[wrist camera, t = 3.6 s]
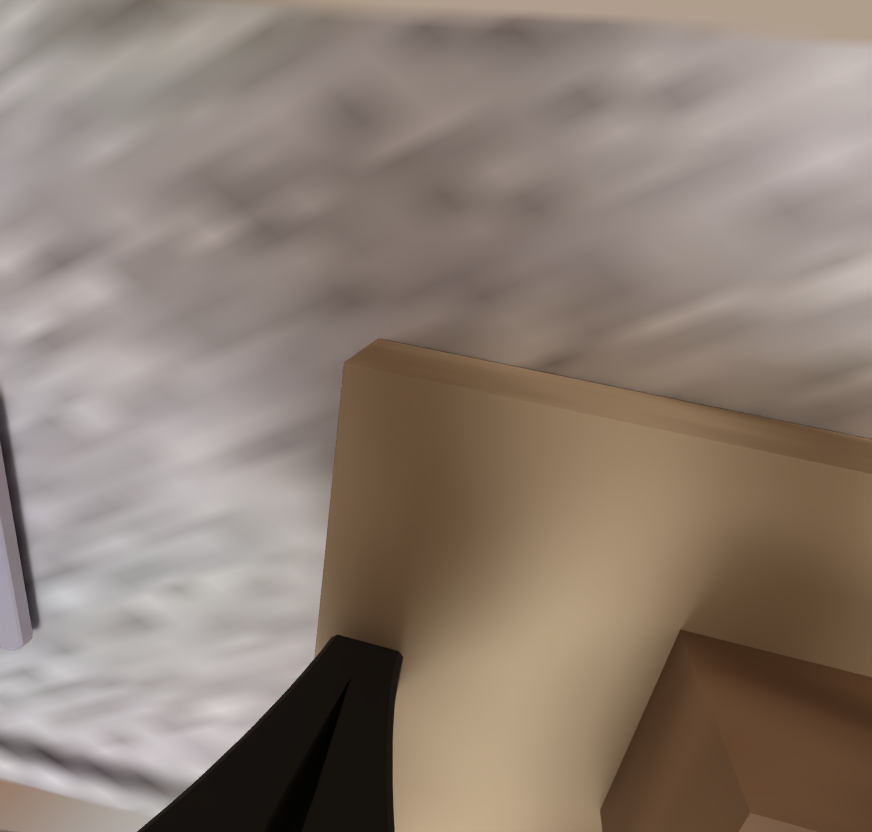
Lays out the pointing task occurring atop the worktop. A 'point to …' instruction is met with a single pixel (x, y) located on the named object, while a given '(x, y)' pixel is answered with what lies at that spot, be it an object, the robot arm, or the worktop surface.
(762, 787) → the walnut block
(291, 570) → the worktop surface
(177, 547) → the worktop surface
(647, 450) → the birch board
